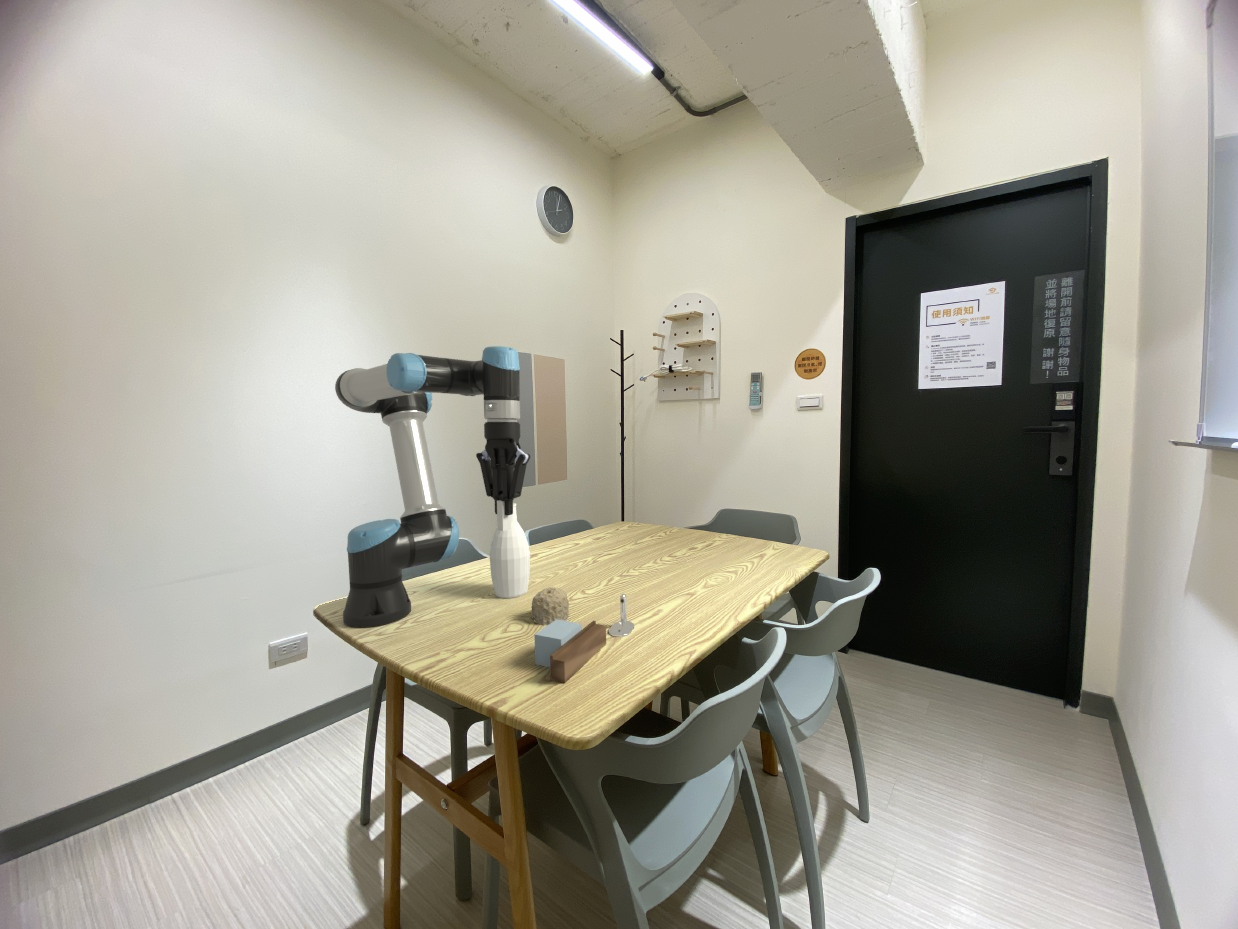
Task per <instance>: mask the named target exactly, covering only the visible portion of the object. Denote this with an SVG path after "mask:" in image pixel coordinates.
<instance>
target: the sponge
mask: <svg viewBox="0 0 1238 929" xmlns="http://www.w3.org/2000/svg"><path fill="white" fill-rule="evenodd" d="M531 600H532V601H531V611H530V612H531V614H530V616H531V617H530V618H531V619H532V620H533V621H534V622H535V623H536V624H538V625H540V626H548V625H549V624H550V623H552V622H553V621H555V620H556V619H557V620H563V621H567V619H569V617H570V616H569V614H570V611H569V608H570V605H569V604H570V602H569V599H568V595H567V592H565V590H564V589H562V588H560V587H559V588H558V587H554V586H553V587H546V588H544V589H542V590H540V591H538V592H537V593H536V594H535V596H534V597H533V598H532V599H531Z"/></svg>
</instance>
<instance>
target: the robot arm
mask: <svg viewBox="0 0 1238 929" xmlns="http://www.w3.org/2000/svg"><path fill="white" fill-rule="evenodd" d="M519 357H520V356H519V352H518V351H517V349H515V348H513V347H508V346H500V345H499V346H497V345H496V346H486V347H485V348H484V349H483V350H482V357H481V359H480V360H467V359H466V360H464V359H459V358H457V359H455V358H449V357H439V356H437V357H436V356H429V355H422V354H416V353H413V352H408V353H407V352H406V353H402V352H401V353H400V352H397V353H393V354H392V355H391V356H390V358H389V359H388V361H387V363H384V364H382V365H377V366H375V367H371V368H367V369H366V368H362V367H355V368H351V369H348V370H346V371H345V370H344V372H342V373H340V375H339V376H338V377H337V378H336V380H335V383H334V390H335V394H336V396H337V398H338V400H339V401H340V402H341V403H342V404H343V405H345V406H346V407H347V408H350V409H351V410H354V411H357V412H360V413H364V414H365V413H367V414H380V416H381V421H382V423H383V424H385V425H386V426H387V427H389V430H390V436H391V442H392V447H393V448H392V449H393V453H394V458H395V464H396V470H397V474H398V479H399V480H398V481H399V485H400V490H401V496H402V501H403V502H402V503H403V506H404V507H403V508H404V512H403V513H402V514H401V515H400V517H399V519H400V521H399V520H398V519H395V518H387V519H378V520H373V521H368V522H365V523H363V524H360V525H357V526H355V527H354V528H352V529H351V530H350V531H349V532H348V534H347V546H346V552H347V558H348V559H347V562H348V577H349V580H348V581H349V592H348V595H347V599H346V603H345V607H344V610H343V613H342V618H343V620H342V621H343V624H344V625H345V626H347V627H351V628H371V627H378V626H384V625H387V624H391V623H395V622H397V621H399V620H401V619H404V618H405V617H407V616H409V615H410V613H411V611H412V602H411V599H410V597H409V594H408V591H407V590H406V587H405V584H404V582H403V569H404V570H405V569H409V568H413V567H417V566H422V565H426V564H432V563H438V562H439V561H442V560H446V559H449V558H451V557H452V556H453V555H454V554H455V552H456V551H457V548H458V545H459V541H460V529H459V525H458V523H457V521H456V519H455V517H453V516H450V515H448V514H447V510H446V508H445V507H444V506H442V505H440V504H439V500H438V494H437V490H436V485H435V478H434V473H433V470H432V468H433V467H432V464H431V459H430V454H429V453H430V452H429V448H428V442H427V438H426V434H425V427H424V422H425V420H426V419H427V417H428V413H429V412H430V411H431V409H432V406H433V403H432V401H433V393H435V394H450V395H459V396H464V397H475V396H482V395H483V416H484V417H483V419H484V420H486V422H484V424H483V428H484V429H483V430H484V431H483V433H484V437H483V438H484V439H485V440H486V443H485V446H484V449H483V450H482V451H481V452H477V453H475V454H476V455H475V456H476V458H477V460H478V464H479V465H480V471H481V474H482V480H483V484H484V489H485V494H486V496H487V497H490V498H492V499H493V500H494V513H495V515H497V516H496V518H497V520H496V523H497V524H496V525H497V527H496V529H497V530H498V531H505V530H508V529H511V515H512V514H513V503H514V499H517V498H520V497H521V495H522V491H523V486H524V480H525V475H526V469H527V464H528V463H529V461H530V459H531V454H530V453H525V452H524V451H523V450H522V447H521V445H520V444H521V443H520V439H521V424H520V422H518V420H520V419H521V401H520V400H521V399H520V397H521V396H520V393H521V392H520V387H521V386H520V376H521V375H520V370H521V367H520V360H519Z"/></svg>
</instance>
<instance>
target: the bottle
mask: <svg viewBox="0 0 1238 929" xmlns="http://www.w3.org/2000/svg"><path fill="white" fill-rule="evenodd" d="M530 560H531V552H530V547H529V541H528V539H527V537H526V534H525V531H524V530H523V528H522V526H521V525H520V523H519V522H518V517H517V503H516V502H513V514H512V515H511V529H508V530H505V531H498V530H497V528H496V529H495V531H494V533H493V535H492V538H491V543H490V550H489V564H490V565H489V566H490V567H489V568H490V578H491V582H492V586H493V593H494V596H496V597H497V598H500V599H514V598H515V599H516V598H520V597H522V596H524V595H526V593H527V592H528V590H529V584H530V583H529V580H530V574H531V573H530V572H531V570H530V569H531V565H530V564H531V561H530Z"/></svg>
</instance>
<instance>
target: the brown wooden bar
mask: <svg viewBox="0 0 1238 929" xmlns="http://www.w3.org/2000/svg"><path fill="white" fill-rule="evenodd" d="M606 645H607V625H606V624H599V623H596V620H592V621H591V622H590V623H588V624H587V625H586V626H585V627H582V630H581V631H580V632H578V633H577V634H576V635H575V636H573V637H572V638H571V639H570V640H568V641H567V642H566V643H565V644H563V645H562V646H561V647H560V648H559V649H557V650H556V651H555V652H554V653H552V654H551V655H550V667H549V668H550V671H549V672H550V673H549V674H550V680H551V681H554V682H558V683H561V684H566V683H567V682H568V681H569V680H571V679H572V677H574V676H575V675H576V673H577V672H579V671H580V669H582V668H583V667H584V666H585V665H586V664H587V663H588V662H589V661H591V659H592V658H593V657H594V656H595V655H596V654H598V653H599V651H600V650H601V649H603V648H604V647H605V646H606Z"/></svg>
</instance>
